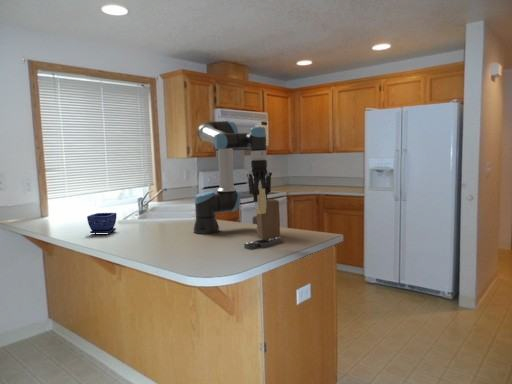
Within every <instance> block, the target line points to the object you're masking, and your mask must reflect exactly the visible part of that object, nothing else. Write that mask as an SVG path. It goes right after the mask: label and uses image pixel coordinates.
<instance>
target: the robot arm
mask: <svg viewBox="0 0 512 384" xmlns="http://www.w3.org/2000/svg"><path fill="white" fill-rule="evenodd" d="M197 136H198V138H199V139H200V140H202V141H203V142H205V143H207V142H208V143H209V142H210V143H212V144H213V147H214V148H215V149H216V150H217V154H218V178H219V179H218V183H219V184H218V185H219V186H218V187H219V188H217V190H216V193H215V191H204V192H200V193H198V194H195V198H194V209H195V221H194V227H193V233H194V234H198V235H199V234H200V235H208V234H209V235H210V234H215V233H218V232H219V231H220V227H219V224H218V221H217V217H216V214H219V213H228V212H229V213H232V212H236V211H237V210H238V209H239V208H240V205H241V204H240V203H241V197H240V196H241V195H240V193H239V192H238V191H237V189H236V188H235V185H234V183H235V181H234V160H233V159H234V157H233V155H234V153H233V152H234V151H233V149H250V159H251V161H250V162H251V163H250V164H251V172H250V173H247V174H246V177H247V181H248V188H249V189H248V190H249V191H248V192H249V194H250V195H252V198H253V203H254V207H255V208H254V209H255V210H256V209H260V208H259V195H258V189H259V185H260V184H261V188H263V189H265V201H267V199H268V195H269V194H270V193H271V192H272V191H271V190H272V188H271V185H272V183H271V182H272V181H271V180H272V176H273V175H272V174H273V173H272V172H269V171H268V169H267V167H268V160H267V133H266V128H265V127H264V126H257V127H255V126H253V127H251V128H250V130H249V132H239V130H238V126H237V124H236V123H235V122H233V121H229V120H227V121H223V120H221V121H211V120H210V121H206V122H204V123H201V124H200V125H199V126H198V128H197ZM259 183H260V184H259ZM266 208H267V207H266Z"/></svg>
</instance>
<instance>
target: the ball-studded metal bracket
mask: <svg viewBox="0 0 512 384" xmlns="http://www.w3.org/2000/svg"><path fill="white" fill-rule="evenodd" d="M283 243H284V238H281V236H280V237H275V238H269V239H262V238H261V239H258V240H252V241H249V242H245V243H243V246H244V249H246V250H253V249H258V248H260V249H263V248H268V247H273V246H274V245H277V244H283Z"/></svg>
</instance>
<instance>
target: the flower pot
mask: <svg viewBox="0 0 512 384" xmlns="http://www.w3.org/2000/svg"><path fill="white" fill-rule="evenodd" d="M86 218H87V223H88V226H89V228H90V230H91V231H90V232H89V233H90V234H91V233H95V234H96V233H110V232H112V231H114V232H115V231H116V230H117V227H115V226H116V221H117V213H116V212H97V213H93V214H90V215H87V216H86ZM112 233H113V232H112ZM110 234H111V233H110Z"/></svg>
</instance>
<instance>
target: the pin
mask: <svg viewBox="0 0 512 384" xmlns="http://www.w3.org/2000/svg"><path fill="white" fill-rule="evenodd" d="M258 195H259V208H260V209H256V208H255V214H256V215H257V214H264V213H266V201H265V189H263V188H262V187H260V188H259V187H258Z"/></svg>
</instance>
